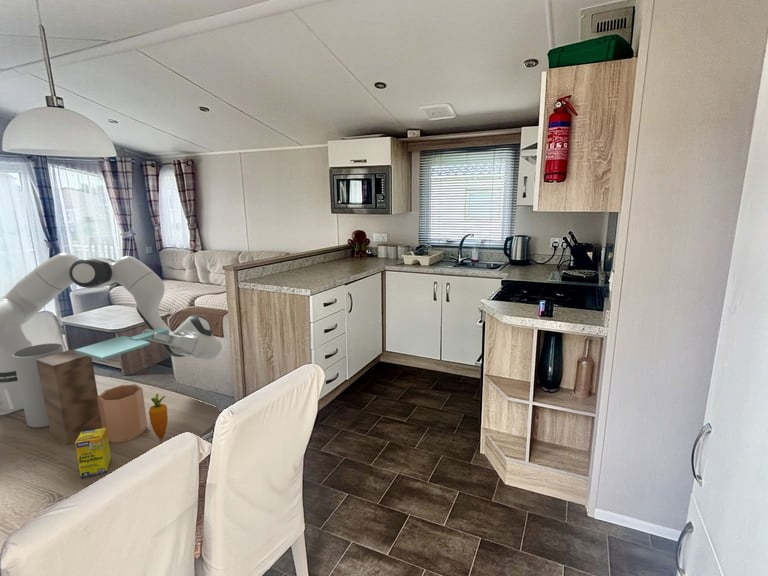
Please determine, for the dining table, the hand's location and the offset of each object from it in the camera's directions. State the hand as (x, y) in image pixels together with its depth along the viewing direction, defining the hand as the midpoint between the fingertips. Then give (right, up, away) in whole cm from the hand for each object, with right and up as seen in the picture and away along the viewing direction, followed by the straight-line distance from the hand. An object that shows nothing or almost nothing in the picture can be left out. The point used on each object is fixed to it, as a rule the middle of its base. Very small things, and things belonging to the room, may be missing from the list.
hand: (148, 334), depth 130 cm
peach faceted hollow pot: (-5, -31, -3) cm, 32 cm away
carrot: (+8, -32, -7) cm, 34 cm away
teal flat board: (-3, -2, -5) cm, 6 cm away
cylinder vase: (-36, -30, +5) cm, 47 cm away
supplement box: (-2, -35, -21) cm, 41 cm away
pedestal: (-21, -31, -3) cm, 38 cm away
